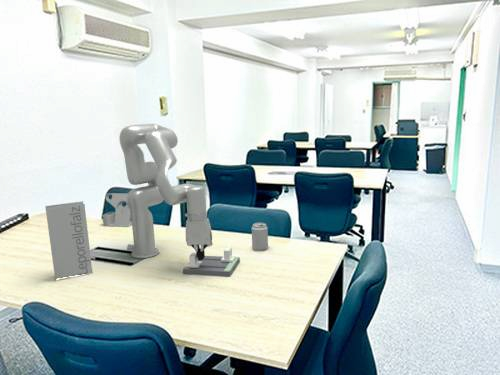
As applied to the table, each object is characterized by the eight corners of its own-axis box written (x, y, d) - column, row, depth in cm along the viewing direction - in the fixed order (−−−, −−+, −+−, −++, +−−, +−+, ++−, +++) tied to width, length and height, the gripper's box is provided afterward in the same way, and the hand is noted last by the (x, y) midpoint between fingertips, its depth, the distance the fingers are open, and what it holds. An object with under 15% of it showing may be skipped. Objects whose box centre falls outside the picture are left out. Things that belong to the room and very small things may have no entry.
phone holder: (101, 226, 244) (98, 196, 241) (110, 221, 254) (107, 192, 251) (128, 227, 241) (125, 196, 237) (136, 222, 250) (134, 192, 247)
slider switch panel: (183, 273, 171) (182, 268, 171) (196, 259, 187) (196, 255, 186) (230, 276, 167) (229, 271, 166) (239, 261, 182) (239, 257, 182)
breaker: (221, 261, 177) (220, 250, 176) (224, 257, 182) (223, 246, 181) (232, 262, 176) (231, 251, 175) (235, 257, 181) (234, 247, 180)
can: (266, 251, 193) (266, 226, 191) (250, 251, 195) (249, 226, 192) (269, 246, 200) (268, 222, 198) (253, 245, 202) (253, 221, 200)
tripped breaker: (186, 267, 172) (185, 256, 171) (190, 262, 177) (190, 251, 176) (198, 267, 171) (197, 256, 170) (202, 263, 176) (201, 252, 175)
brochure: (55, 281, 169) (45, 208, 163) (54, 276, 174) (45, 206, 168) (92, 273, 175) (84, 203, 169) (90, 269, 180) (82, 201, 174)
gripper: (176, 218, 167) (180, 262, 171) (212, 218, 164) (215, 263, 167) (183, 213, 174) (187, 255, 178) (217, 214, 171) (220, 256, 174)
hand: (200, 259), depth 172 cm, fingers closed
